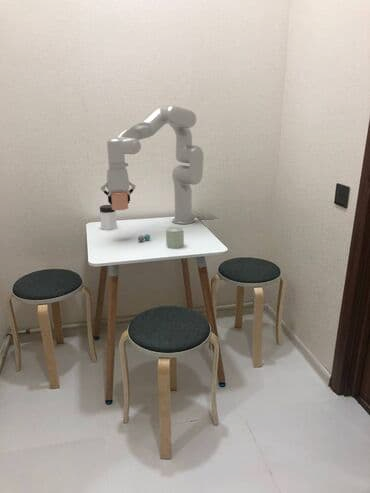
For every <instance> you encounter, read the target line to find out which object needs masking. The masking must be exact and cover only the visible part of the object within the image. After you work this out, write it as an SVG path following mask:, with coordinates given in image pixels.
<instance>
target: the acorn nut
mask: <svg viewBox="0 0 370 493" xmlns="http://www.w3.org/2000/svg"><path fill="white" fill-rule="evenodd" d="M184 240H185V237H184V229H183V228H182V227H179V226H169V227H167V228H166V230H165V245H166V248H170V249H181V248H183V247H184V246H185V241H184Z"/></svg>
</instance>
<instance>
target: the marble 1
mask: <svg viewBox="0 0 370 493" xmlns="http://www.w3.org/2000/svg"><path fill="white" fill-rule="evenodd" d="M137 240H138V241H139V242H140V243H143V242H144V241H145V239H144V236H143V235H138V237H137Z"/></svg>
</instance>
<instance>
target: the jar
mask: <svg viewBox="0 0 370 493" xmlns="http://www.w3.org/2000/svg"><path fill="white" fill-rule="evenodd" d="M116 211H117V210H112V208H111V205H110V204H103V205H100V206H99V214H100V226H101V230H103V231H104V230H105V231H111V230H115V229H118V224H117V213H116Z"/></svg>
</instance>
